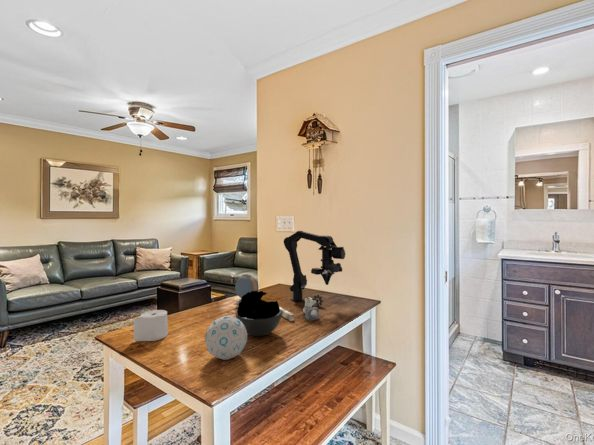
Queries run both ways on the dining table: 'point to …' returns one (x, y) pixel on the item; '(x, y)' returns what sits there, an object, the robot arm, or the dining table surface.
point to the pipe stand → (311, 313)
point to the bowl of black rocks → (258, 314)
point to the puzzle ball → (226, 337)
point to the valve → (313, 301)
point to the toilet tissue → (151, 326)
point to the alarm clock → (245, 286)
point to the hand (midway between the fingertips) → (326, 284)
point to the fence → (287, 314)
